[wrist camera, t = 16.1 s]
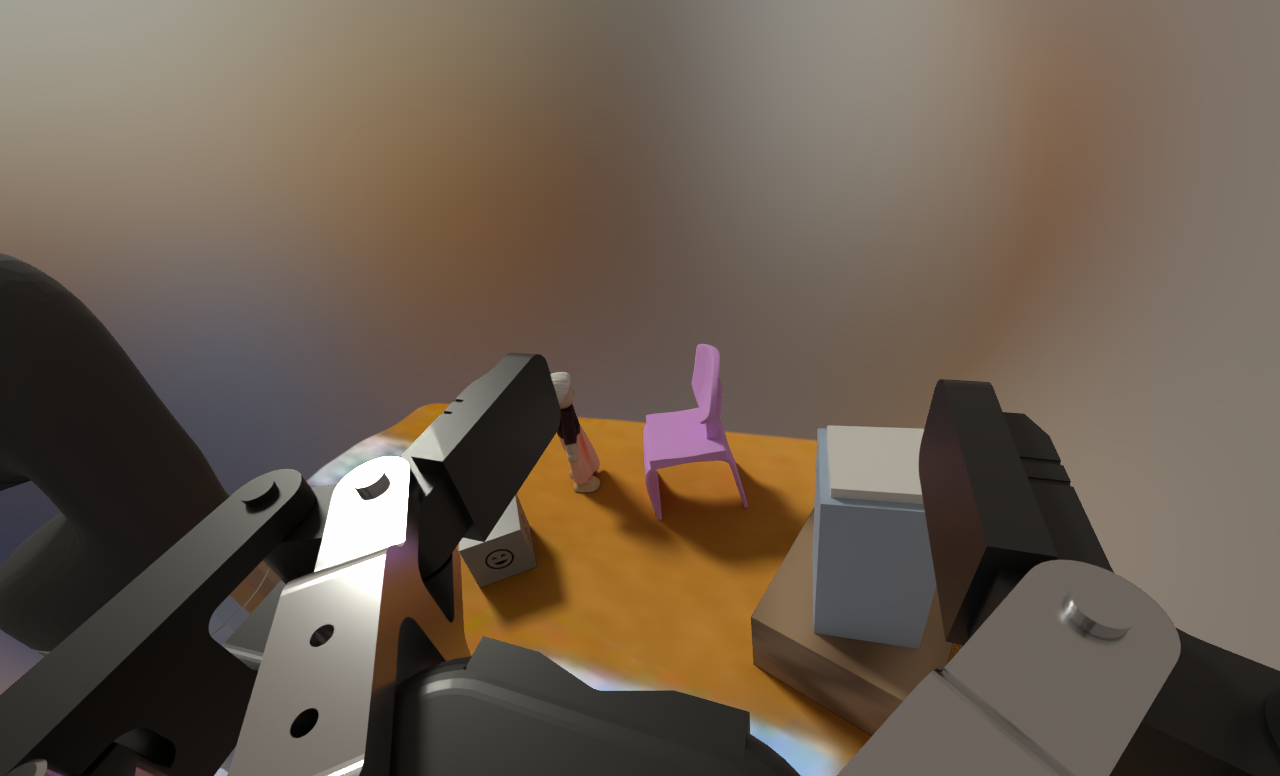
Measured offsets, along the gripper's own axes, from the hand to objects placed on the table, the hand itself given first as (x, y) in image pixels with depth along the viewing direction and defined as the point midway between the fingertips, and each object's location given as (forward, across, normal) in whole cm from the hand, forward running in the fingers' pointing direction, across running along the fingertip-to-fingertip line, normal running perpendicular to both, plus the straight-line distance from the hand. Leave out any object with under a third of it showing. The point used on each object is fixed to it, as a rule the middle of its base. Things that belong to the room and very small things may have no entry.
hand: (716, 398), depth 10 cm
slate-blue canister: (+11, -6, +23) cm, 26 cm away
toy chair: (+23, +8, +30) cm, 39 cm away
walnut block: (+11, -6, +29) cm, 32 cm away
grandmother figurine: (+23, +20, +30) cm, 43 cm away
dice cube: (+12, +23, +30) cm, 40 cm away
